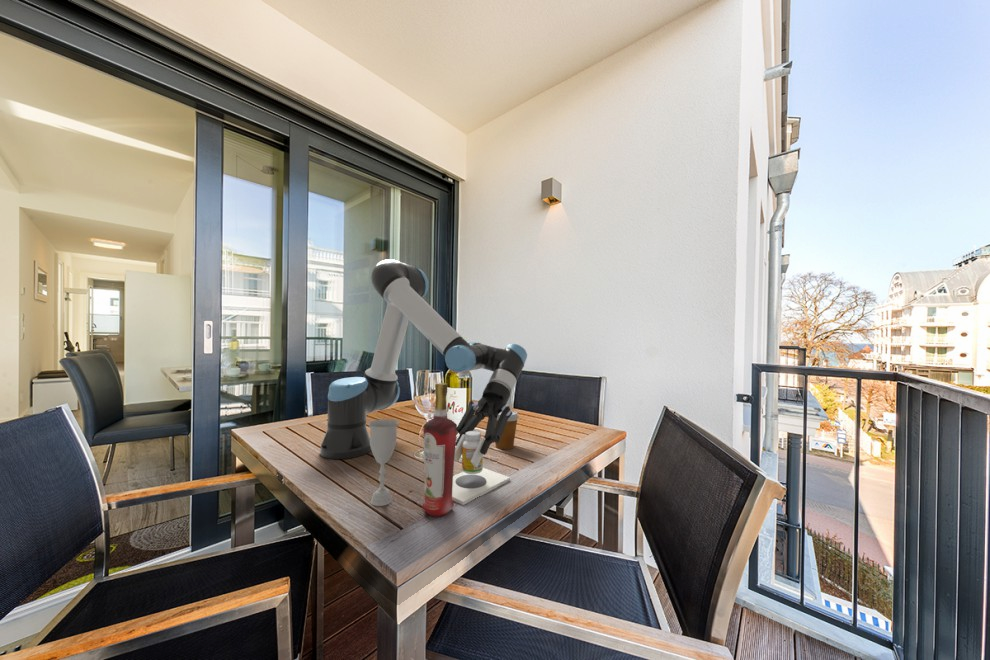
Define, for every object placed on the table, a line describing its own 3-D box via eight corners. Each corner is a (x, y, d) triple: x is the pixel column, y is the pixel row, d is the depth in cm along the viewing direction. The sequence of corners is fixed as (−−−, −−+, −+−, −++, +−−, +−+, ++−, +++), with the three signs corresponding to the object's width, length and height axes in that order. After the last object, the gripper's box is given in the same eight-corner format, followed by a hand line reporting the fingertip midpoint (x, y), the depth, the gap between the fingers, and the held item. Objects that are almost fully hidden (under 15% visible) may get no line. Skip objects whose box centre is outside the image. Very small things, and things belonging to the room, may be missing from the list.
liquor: (413, 512, 74) (417, 384, 75) (437, 499, 80) (440, 380, 81) (438, 524, 70) (442, 387, 70) (461, 509, 76) (464, 383, 77)
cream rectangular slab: (477, 468, 100) (477, 465, 100) (510, 480, 92) (510, 476, 92) (428, 489, 86) (429, 485, 86) (463, 505, 78) (463, 500, 78)
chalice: (402, 501, 79) (404, 423, 79) (374, 511, 74) (376, 428, 75) (388, 490, 84) (390, 417, 85) (360, 499, 80) (363, 422, 80)
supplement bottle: (465, 465, 92) (465, 429, 92) (484, 467, 91) (485, 430, 91) (459, 473, 87) (460, 435, 87) (480, 475, 86) (480, 436, 86)
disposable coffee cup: (515, 452, 114) (516, 416, 114) (488, 449, 116) (489, 414, 116) (519, 443, 124) (520, 410, 124) (493, 441, 126) (494, 408, 126)
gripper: (531, 399, 97) (500, 477, 83) (478, 393, 107) (442, 461, 93) (523, 383, 93) (488, 462, 79) (468, 377, 103) (429, 447, 88)
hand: (464, 461), depth 86 cm, fingers closed on supplement bottle, 5 cm apart
